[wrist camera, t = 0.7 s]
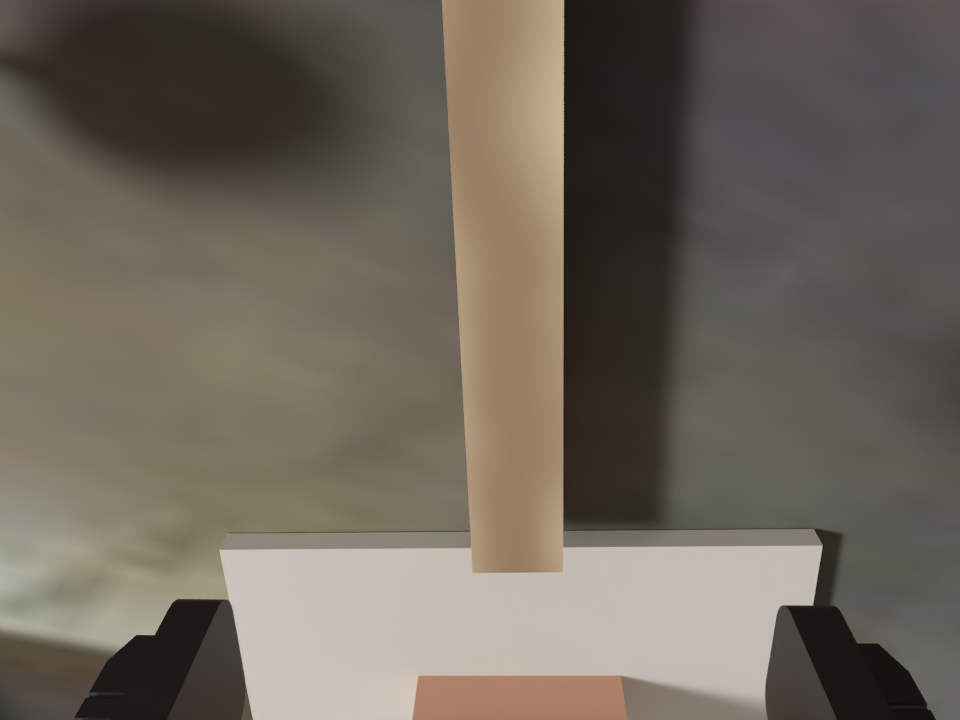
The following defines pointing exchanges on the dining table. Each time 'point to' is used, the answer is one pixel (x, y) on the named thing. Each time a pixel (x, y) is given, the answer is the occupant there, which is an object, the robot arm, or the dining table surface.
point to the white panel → (513, 617)
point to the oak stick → (510, 271)
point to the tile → (519, 698)
